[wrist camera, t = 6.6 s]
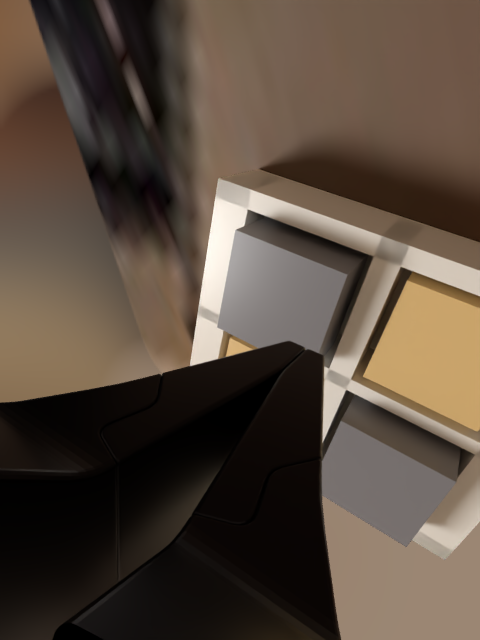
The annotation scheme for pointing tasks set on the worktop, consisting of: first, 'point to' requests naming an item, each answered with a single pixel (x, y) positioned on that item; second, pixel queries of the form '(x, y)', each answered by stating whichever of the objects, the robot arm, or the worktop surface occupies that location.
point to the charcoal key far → (387, 470)
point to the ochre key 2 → (433, 349)
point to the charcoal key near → (288, 286)
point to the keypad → (355, 312)
